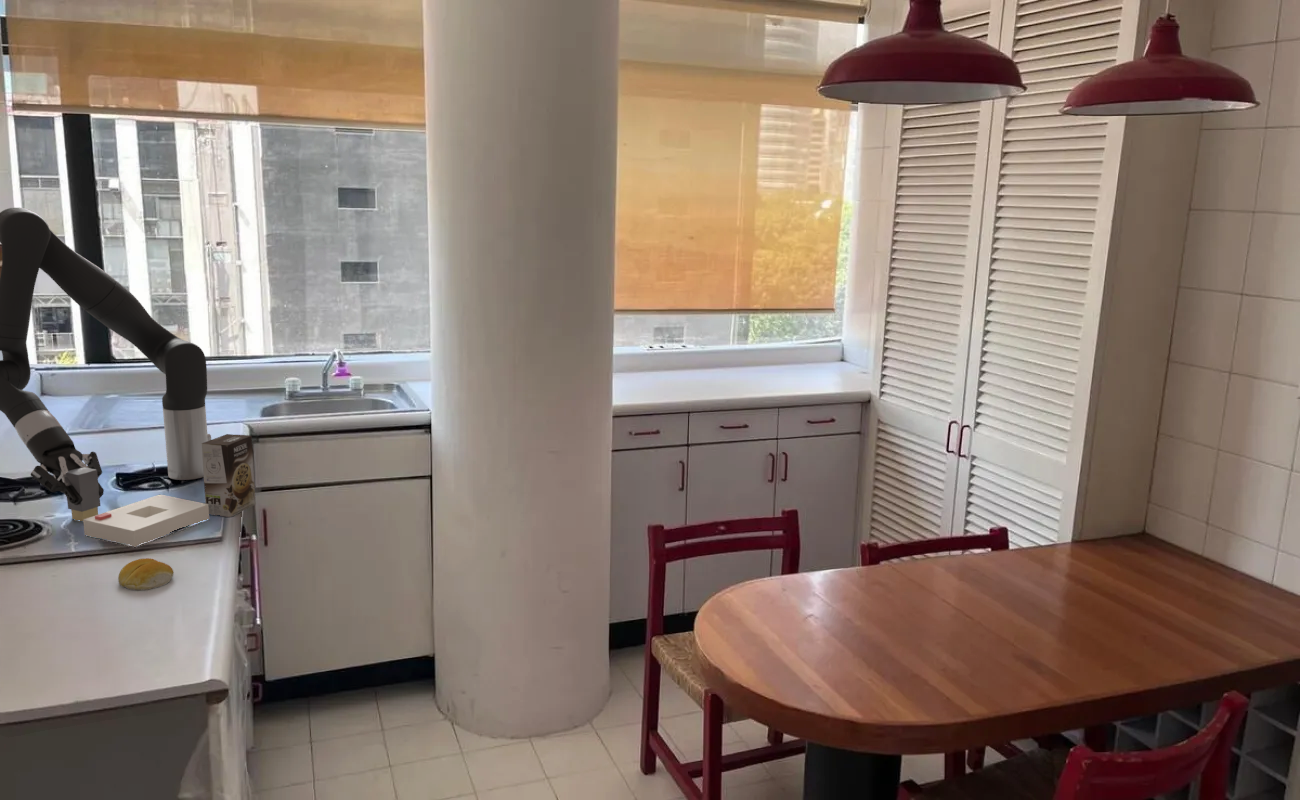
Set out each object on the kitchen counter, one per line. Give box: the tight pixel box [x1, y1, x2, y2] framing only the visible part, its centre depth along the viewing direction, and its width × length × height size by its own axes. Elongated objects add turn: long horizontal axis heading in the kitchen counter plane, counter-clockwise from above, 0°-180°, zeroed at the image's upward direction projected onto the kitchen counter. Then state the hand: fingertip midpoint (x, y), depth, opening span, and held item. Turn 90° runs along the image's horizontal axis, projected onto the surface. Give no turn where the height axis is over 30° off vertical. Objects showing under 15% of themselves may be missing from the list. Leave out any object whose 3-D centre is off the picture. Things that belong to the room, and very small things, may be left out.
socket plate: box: [82, 494, 210, 548], centre depth 193 cm, size 18×14×4 cm
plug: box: [66, 467, 101, 522], centre depth 197 cm, size 4×4×10 cm
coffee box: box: [202, 433, 256, 518], centre depth 204 cm, size 9×6×16 cm
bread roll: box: [117, 557, 174, 591], centre depth 168 cm, size 8×9×4 cm
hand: (89, 499), depth 196 cm, fingers closed on plug, 4 cm apart
